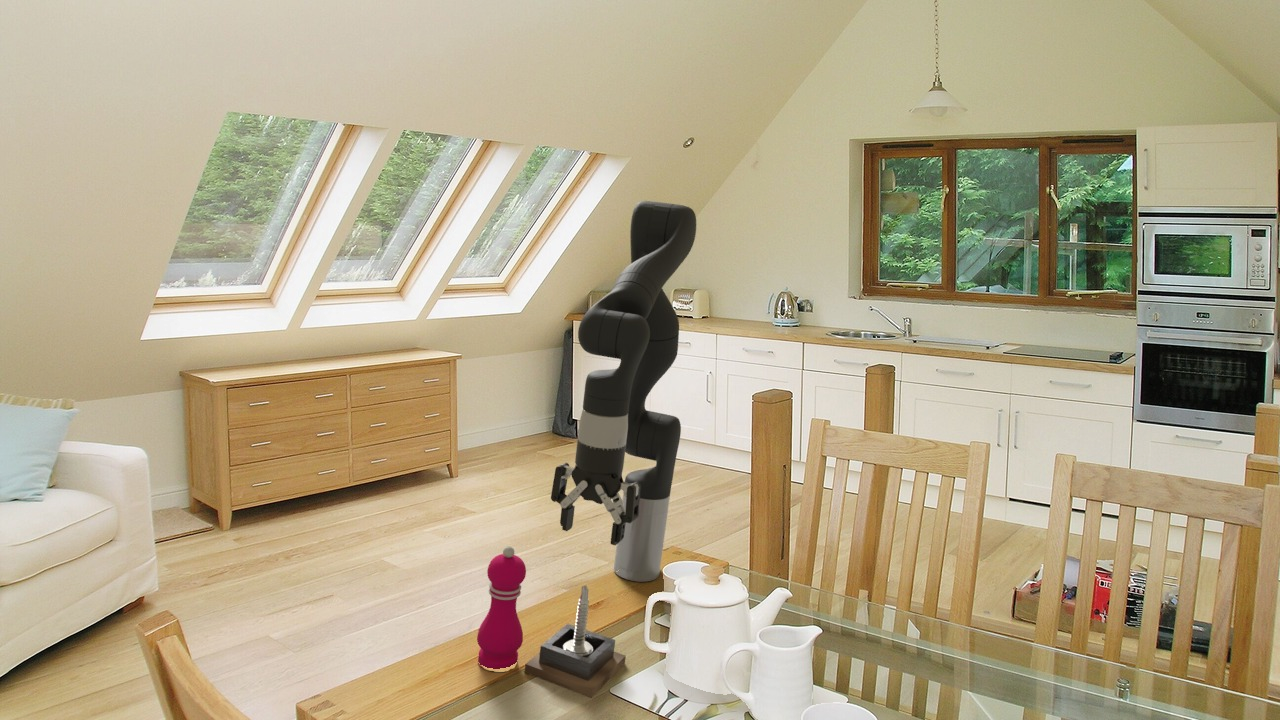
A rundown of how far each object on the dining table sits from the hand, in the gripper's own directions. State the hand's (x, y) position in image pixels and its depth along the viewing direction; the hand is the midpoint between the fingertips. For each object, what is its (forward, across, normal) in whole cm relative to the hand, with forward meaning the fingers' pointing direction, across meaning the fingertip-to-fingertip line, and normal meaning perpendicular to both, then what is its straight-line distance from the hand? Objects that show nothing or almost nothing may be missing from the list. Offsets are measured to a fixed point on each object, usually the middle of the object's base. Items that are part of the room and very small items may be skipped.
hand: (590, 536), depth 152 cm
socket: (+21, 0, +1) cm, 21 cm away
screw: (+21, 0, +1) cm, 21 cm away
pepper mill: (+23, +10, +7) cm, 26 cm away
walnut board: (+22, 0, +1) cm, 22 cm away
